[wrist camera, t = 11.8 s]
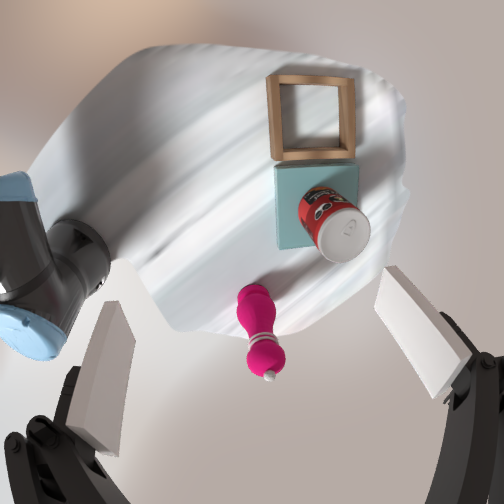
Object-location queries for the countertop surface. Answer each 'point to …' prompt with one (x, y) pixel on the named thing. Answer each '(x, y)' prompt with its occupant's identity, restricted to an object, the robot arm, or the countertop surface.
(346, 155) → the collar
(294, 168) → the plate
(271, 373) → the pepper mill
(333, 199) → the canned food
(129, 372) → the robot arm
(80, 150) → the countertop surface
